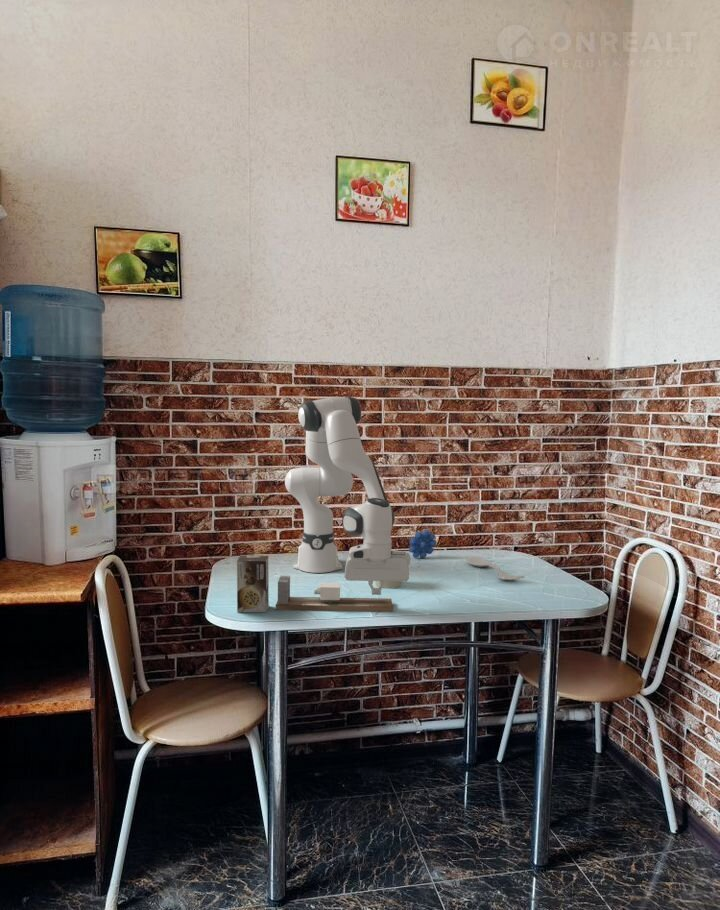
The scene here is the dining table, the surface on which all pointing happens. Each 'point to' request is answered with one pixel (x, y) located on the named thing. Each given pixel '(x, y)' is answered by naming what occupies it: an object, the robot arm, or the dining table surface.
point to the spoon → (482, 563)
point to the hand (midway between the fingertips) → (376, 594)
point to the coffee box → (252, 584)
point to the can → (389, 582)
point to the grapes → (422, 544)
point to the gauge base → (327, 601)
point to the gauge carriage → (328, 591)
